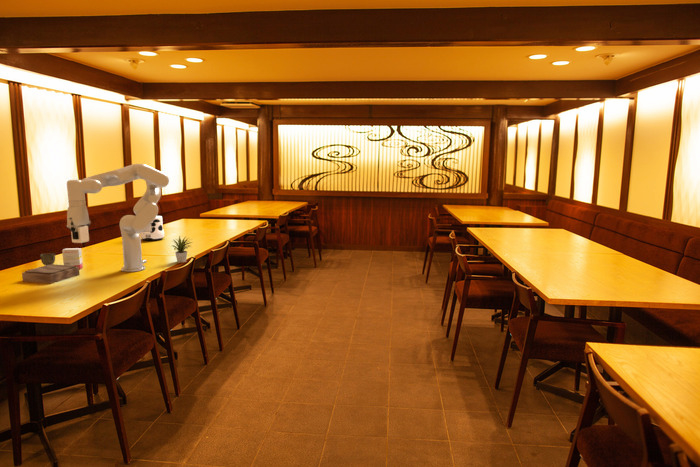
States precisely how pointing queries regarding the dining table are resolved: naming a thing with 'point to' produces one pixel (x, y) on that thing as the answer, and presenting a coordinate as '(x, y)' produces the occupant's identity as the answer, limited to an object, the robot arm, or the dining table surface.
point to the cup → (48, 258)
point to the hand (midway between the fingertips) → (80, 237)
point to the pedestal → (50, 273)
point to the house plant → (181, 250)
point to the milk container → (154, 230)
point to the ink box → (72, 257)
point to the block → (81, 234)
